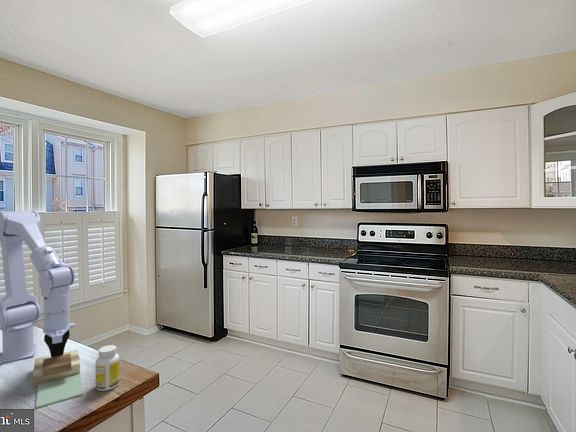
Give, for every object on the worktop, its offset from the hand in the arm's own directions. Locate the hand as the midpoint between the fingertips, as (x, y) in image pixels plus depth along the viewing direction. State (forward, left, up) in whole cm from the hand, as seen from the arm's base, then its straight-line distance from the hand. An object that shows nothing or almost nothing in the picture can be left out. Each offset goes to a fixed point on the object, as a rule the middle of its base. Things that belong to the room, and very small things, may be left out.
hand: (57, 359), depth 87 cm
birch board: (-1, 0, -4) cm, 4 cm away
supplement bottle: (+14, +10, -4) cm, 18 cm away
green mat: (+10, 0, -4) cm, 11 cm away
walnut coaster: (+4, 0, -1) cm, 4 cm away
